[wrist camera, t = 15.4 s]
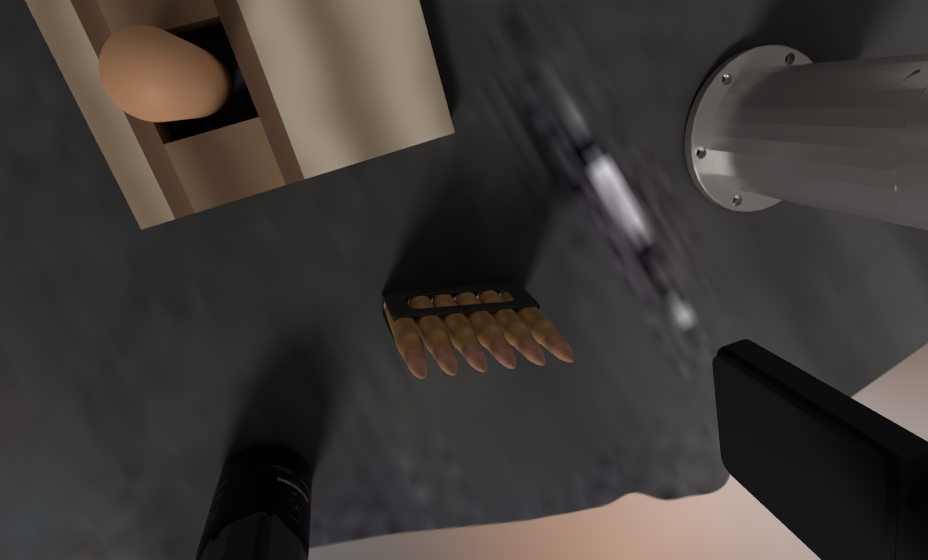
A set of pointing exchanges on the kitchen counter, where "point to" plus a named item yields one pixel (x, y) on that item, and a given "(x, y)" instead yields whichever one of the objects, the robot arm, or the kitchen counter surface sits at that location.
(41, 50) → the kitchen counter surface
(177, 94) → the peg
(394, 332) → the ammunition clip
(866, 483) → the robot arm
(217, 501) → the supplement bottle
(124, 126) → the plywood deck
